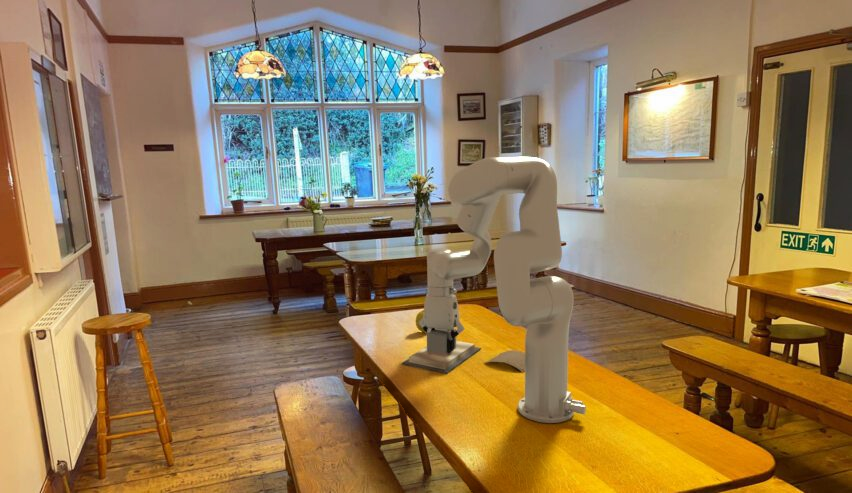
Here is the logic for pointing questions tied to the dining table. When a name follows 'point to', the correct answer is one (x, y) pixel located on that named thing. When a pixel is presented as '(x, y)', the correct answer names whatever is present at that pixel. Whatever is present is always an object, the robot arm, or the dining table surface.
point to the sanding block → (437, 342)
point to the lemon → (418, 318)
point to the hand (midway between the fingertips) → (441, 349)
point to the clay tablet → (512, 359)
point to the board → (442, 358)
